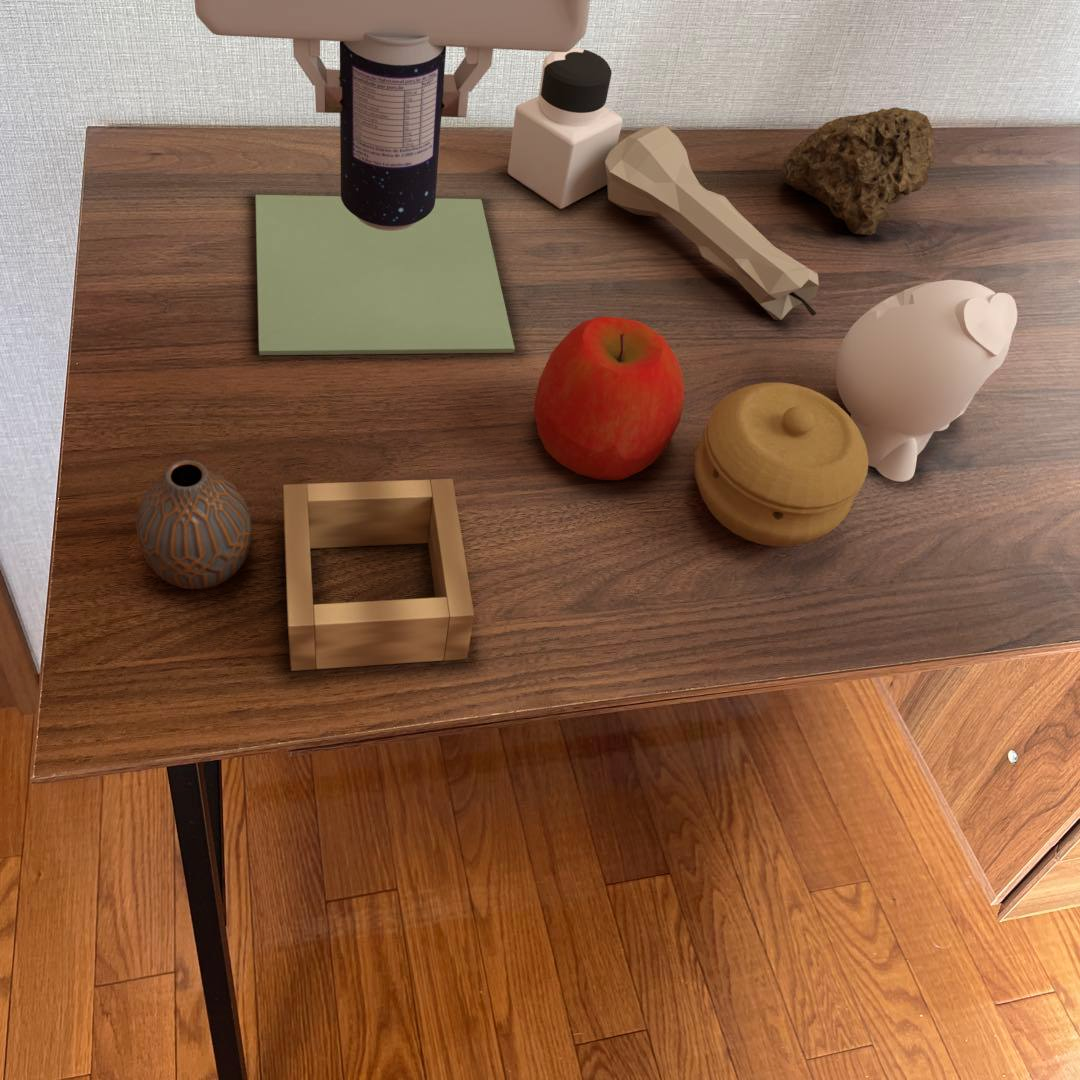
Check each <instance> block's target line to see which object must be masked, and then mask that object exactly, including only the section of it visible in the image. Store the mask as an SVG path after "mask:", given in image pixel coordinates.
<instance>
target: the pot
mask: <svg viewBox="0 0 1080 1080" xmlns="http://www.w3.org/2000/svg"><path fill="white" fill-rule="evenodd" d="M703 433H704V434H703V436H702V437H701V438H700V440H699V442H698V443H697V446H696V450H695V453H694V456H693V469H694V479H695V481H696V484H697V485H696V486H697V488H698V490H699V493H700V496H701V498H702V500H703V502H704V503H705V505H706V507H707V509H708V510H709V512H710V513H711V515H712V516H713V517H714V518H715V519H716V520H717V521H718V522H719V523H720V524H721V525H722V526H723V527H725V528H726V529H727V530H729V531H731V533H733V534H734V535H737V536H739V537H741V538H743V539H745V540H747V541H750V542H753V543H756V544H759V545H763V546H770V547H791V546H797V545H800V544H805V543H809V542H812V541H815V540H817V539H819V538H821V537H823V536H825V535H827V534H828V533H830V532H832V531H833V530H835V529H836V528H837V527H838V526H839V525H840V524H841V523H842V522H843V521H844V520H845V519H846V518H847V516H848V514H849V512H850V510H851V508H852V505H853V503H854V502H853V501H854V498H855V497H856V496H857V495H858V494H859V493H860V491H861V488H862V486H863V485H864V482H865V480H866V477H867V475H868V472H869V465H868V463H869V460H868V454H867V448H866V444H865V442H864V440H863V438H862V435H861V433H860V431H859V429H858V427H857V426H856V424H855V423H854V422H853V421H852V419H851V418H850V415H849V414H848V413H847V412H846V411H845V410H844V409H843V408H841V406H840V405H839V404H837V403H836V402H834V401H833V400H832V399H830V398H828V397H827V396H826V395H824V394H822V393H820V392H818V391H816V390H813V389H812V388H809V387H806V386H801V385H798V384H795V383H787V382H782V381H781V382H780V381H779V382H777V381H775V382H760V383H755V384H750V385H747V386H744V387H741V388H739V389H737V390H735V391H733V392H730V393H729V394H727V395H726V396H725V397H723V398H722V399H721V400H720V401H719V402H717V404H716V405H715V407H714V408H713V410H712V411H711V412H710V414H709V417H708V419H707V421H706V425H705V427H704V432H703Z"/></svg>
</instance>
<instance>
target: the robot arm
mask: <svg viewBox="0 0 1080 1080" xmlns="http://www.w3.org/2000/svg"><path fill="white" fill-rule="evenodd" d="M193 1H194V11H195V16H196V17H197V18H198V20H200V22H201V23H202V24H203V25H204V26H205V28H207V30H209V31H210V33H212V34H213V35H216V36H226V37H245V38H263V39H264V38H266V39H287V40H292V49H293V58H294V59H295V61H296V62H297V64H298V65H299V67H300V68H301V70H302V71H303V74H305V76H306V77H307V79H308V80H309V82H310V83H311V84H312V86H314V99H315V101H314V102H315V113H316V114H317V113H318V114H319V113H320V114H340V113H343V105H342V101H341V100H342V98H343V91H342V84H341V81H340V69H332V68H327V67H326V65H325V63H324V61H322V58H321V57H320V56H321V41H325V42H326V41H328V42H340V41H346V42H360V41H363V40H364V34H365V33H367V34H370V35H373V36H376V37H397V38H417V39H419V38H423V37H425V36H428V37H429V40H428V43H429V44H430V45H433V46H446V47H450V48H451V47H454V48H463V51H464V57H463V58H462V60H461V62H460V63H459V65H458V67H456V69H455V71H454V73H453V74H451V73H450V74H447V73H444V84H443V93H442V108H441V118H464V119H466V118H467V115H468V105H469V104H468V103H469V93H472V91H473V90H474V88H475V87H476V86H477V85H478V83H479V82H480V81H481V80H482V79H483V77H484V76H485V75H486V73H487V72H488V71H489V69H490V68H491V67H492V64H493V53H494V50H511V51H512V50H513V51H531V52H533V51H534V52H567V51H569V50H571V49H572V48H575V46H576V45H577V44H578V43H579V42H580V41H581V40H582V39H583V38H584V37H585V34H586V32H587V28H588V22H589V15H590V7H591V0H193Z"/></svg>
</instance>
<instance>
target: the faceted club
mask: <svg viewBox="0 0 1080 1080" xmlns="http://www.w3.org/2000/svg"><path fill="white" fill-rule="evenodd" d="M605 165H606V172H607V183H608V185H607V200H608V201H609V202H611V203H613V204H615V205H616V206H618V207H619V208H621V209H622V210H625V211H627V212H629V213H631V214H634V215H637V216H647V217H659V218H664V219H666V220H667V221H668V222H669V223H670V224H671V225H672V226H674V227H675V228H676V229H677V230H678V231H680V232H681V233H682V234H683V235H684V236H685V237H686V238H688V239H689V240H690V241H691V242H692V243H693V244H695V245H696V246H697V248H698V251H699V253H700V255H701V257H702V258H704V259H705V260H707V262H710V263H711V264H712V265H714V266H715V267H717V268H719V269H720V270H721V271H723V272H725V273H726V274H727V275H729V276H731V277H732V278H733V279H735V280H736V281H737V282H738V283H739V284H740V286H742V287H743V288H744V289H745V291H747V292H748V293H749V295H751V297H752V298H753V299H754V300H755V301H756V302H757V303H758V304H759V305H760V306H761V307H762V309H764V311H766V313H767V314H768V315H769V316H770V317H771V318H772V319H773V320H776V321H780V320H783V319H784V318H785V316H786V315H788V314H789V312H790V311H791V310H793V308H795V307H797V306H799V305H801V304H803V306H804V307H805V308H806V310H807V311H808V312H809V314H810V315H811V316H812V317H814V316H815V315H817V312H816V311H815V310H814V309H813V307H811V306H810V304H808V303H807V302H809V301H810V300H812V299H815V298H816V296H817V293H818V290H819V286H820V283H819V275H818V272H816V271H815V270H812V269H810V268H808V267H807V266H805V265H804V264H802V263H800V261H798V260H796V259H795V258H793V257H791V256H790V255H788V254H787V253H785V252H784V251H783V250H780V249H779V248H777V247H776V246H775V245H773V244H772V243H771V242H770V241H769V240H768V239H767V237H765V236H764V235H763V234H762V233H761V232H760V231H759V230H758V229H757V228H755V227H754V225H753V224H752V223H751V222H750V221H748V220H747V219H746V218H745V217H744V216H743V215H742V214H741V213H740V212H739V211H738V210H737V209H736V208H735V207H734V205H733V204H732V203H731V202H730V201H729V200H728V199H727V197H726V196H725V195H722V194H719V193H716V192H713V191H710V190H708V189H706V188H705V187H704V186H703V185H701V184H700V182H699V180H698V179H697V177H696V175H695V174H694V173H695V172H694V171H693V170H692V167H691V164H690V160H689V156H688V152H687V149H686V148H685V147H684V145H683V143H682V142H681V140H680V138H679V137H678V136H677V135H676V134H675V133H674V132H673V131H671V130H670V128H668V127H667V126H666V125H664V124H662V125H655V126H649V127H643V128H641V129H639V130H637V131H636V132H634V133H632V134H630V135H628V136H626V137H625V138H624V139H622V140H621V141H619V142H618V144H617V145H616V146H615V147H614V148H613V149H612V150H611V151H610V152H609V154H608V156H607V158H606V161H605Z"/></svg>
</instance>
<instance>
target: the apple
mask: <svg viewBox="0 0 1080 1080" xmlns="http://www.w3.org/2000/svg"><path fill="white" fill-rule="evenodd" d="M685 396H686V391H685V384H684V377H683V372H682V369H681V367H680V364H679V361H678V358H677V357H676V355H675V353H674V352H673V349H672V348H671V346H670V345H669V343H668V341H667V339H665V337H663V336H662V335H661V334H659V333H658V332H656V331H655V330H653V329H652V328H651V327H649V326H648V325H647V324H646V323H644V322H642V321H638V320H633V319H630V318H624V317H616V316H615V317H614V316H598V317H594V318H591V319H587V320H583V321H582V322H580V323H579V324H578V325H576V326H575V327H574V328H572V329H571V330H570V331H569V332H568V333H567V334H566V335H565V337H563V339H562V340H561V341H560V342H559V343H558V344H557V345H556V346H555V348H554V349H553V350H552V352H551V353H550V355H549V357H548V359H547V361H546V364H545V366H544V368H543V371H542V373H541V374H540V378H539V380H538V384H537V388H536V392H535V396H534V406H533V413H534V417H535V422H536V426H537V427H536V428H537V432H538V436H539V438H540V440H541V443H542V445H543V448H544V450H545V451H546V452H547V453H548V454H549V455H550V456H551V457H552V458H553V459H554V460H555V461H556V462H557V463H559V464H561V465H562V466H564V467H565V468H567V469H568V470H570V471H572V472H574V473H575V474H577V475H581V476H584V477H589V478H591V479H595V480H599V481H600V480H601V481H622V480H623V479H627V478H629V477H630V476H633V475H636V474H637V473H641V472H642V471H644V470H645V469H646V468H648V467H649V466H650V465H652V464H653V463H655V461H656V460H657V459H658V458H659V457H660V456H661V454H662V453H663V452H664V451H665V450H666V449H667V447H668V445H669V444H670V442H671V440H672V438H673V436H674V434H675V432H676V430H677V428H678V426H679V424H680V422H681V418H682V417H681V416H682V412H683V406H684V401H685Z"/></svg>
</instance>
